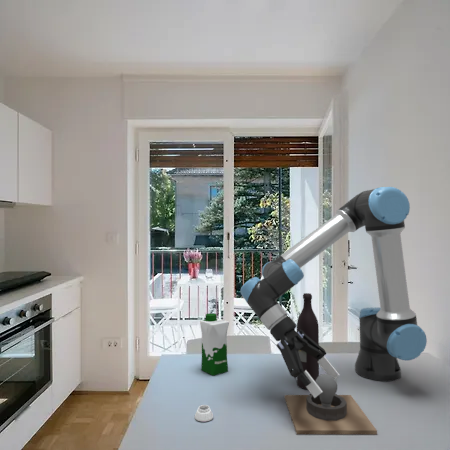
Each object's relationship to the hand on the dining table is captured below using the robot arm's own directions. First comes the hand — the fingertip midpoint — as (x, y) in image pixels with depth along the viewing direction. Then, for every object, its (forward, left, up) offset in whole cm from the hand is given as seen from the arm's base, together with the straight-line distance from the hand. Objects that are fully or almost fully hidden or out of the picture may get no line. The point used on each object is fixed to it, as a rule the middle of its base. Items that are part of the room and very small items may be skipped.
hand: (328, 386), depth 103 cm
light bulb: (0, -1, -7) cm, 7 cm away
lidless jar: (+34, +1, -8) cm, 35 cm away
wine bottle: (+1, -20, -8) cm, 21 cm away
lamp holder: (0, -1, -8) cm, 8 cm away
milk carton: (+32, -33, -8) cm, 47 cm away
